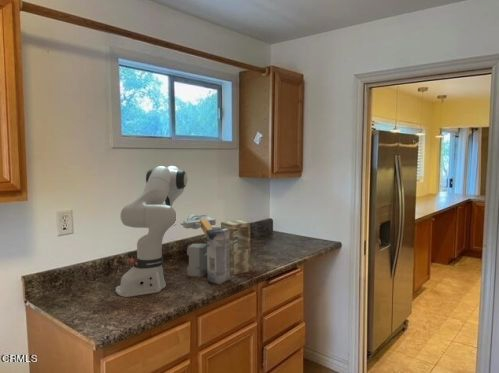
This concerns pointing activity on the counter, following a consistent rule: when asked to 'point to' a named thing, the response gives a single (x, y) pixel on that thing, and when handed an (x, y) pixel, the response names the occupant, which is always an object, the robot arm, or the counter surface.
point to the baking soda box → (235, 239)
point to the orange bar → (205, 225)
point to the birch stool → (239, 246)
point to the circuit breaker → (197, 260)
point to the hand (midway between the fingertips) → (205, 225)
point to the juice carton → (218, 255)
